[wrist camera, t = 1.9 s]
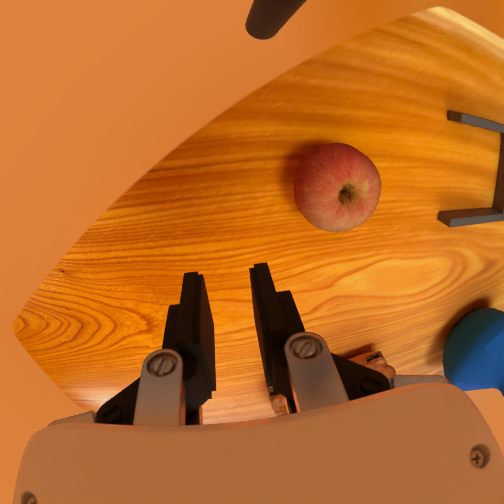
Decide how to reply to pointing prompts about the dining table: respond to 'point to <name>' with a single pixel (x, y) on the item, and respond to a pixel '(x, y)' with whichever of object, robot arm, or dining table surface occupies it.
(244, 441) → the robot arm
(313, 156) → the apple
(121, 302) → the dining table surface
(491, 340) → the vase
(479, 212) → the bay
